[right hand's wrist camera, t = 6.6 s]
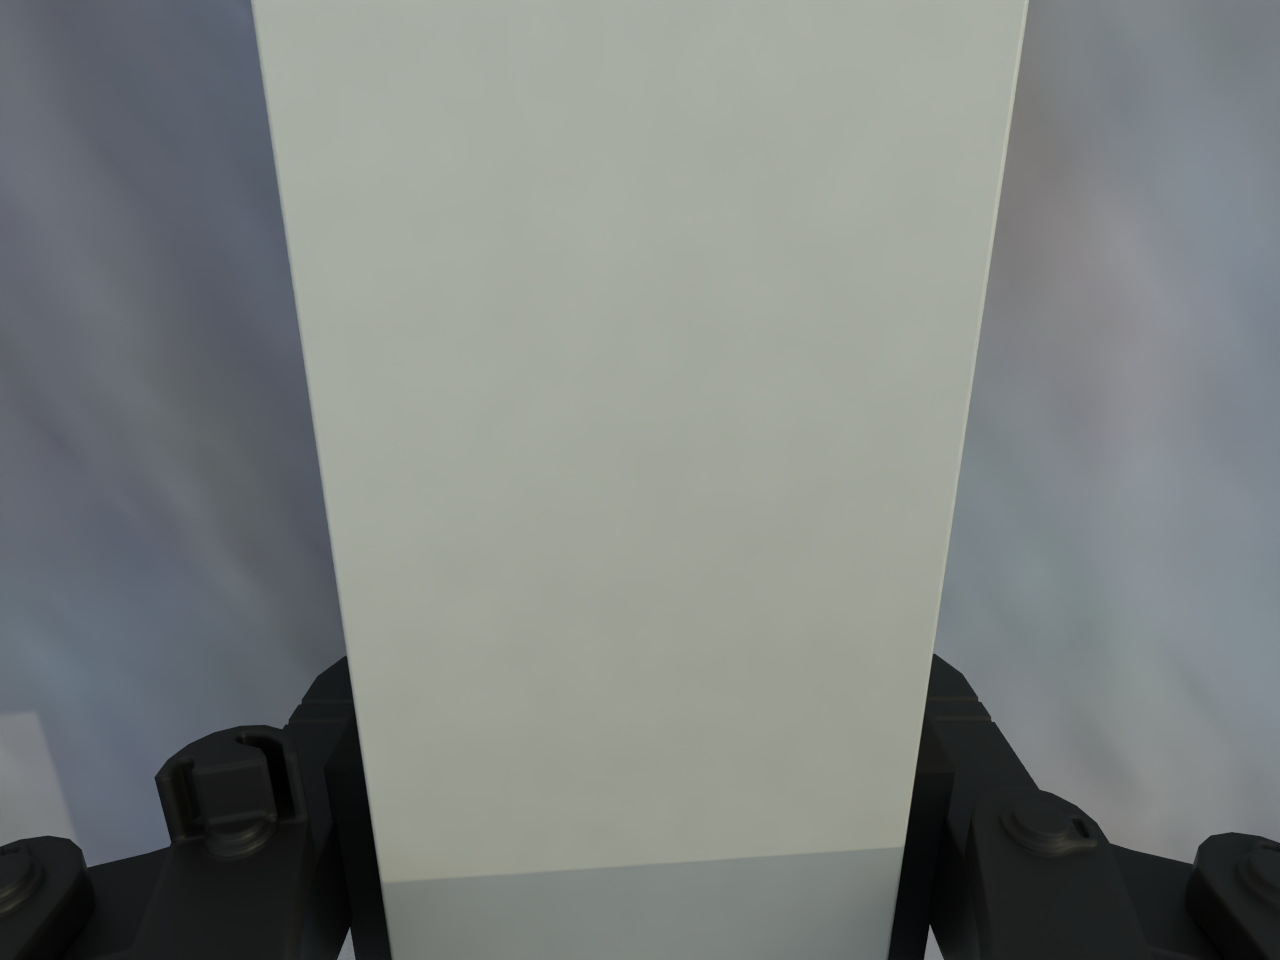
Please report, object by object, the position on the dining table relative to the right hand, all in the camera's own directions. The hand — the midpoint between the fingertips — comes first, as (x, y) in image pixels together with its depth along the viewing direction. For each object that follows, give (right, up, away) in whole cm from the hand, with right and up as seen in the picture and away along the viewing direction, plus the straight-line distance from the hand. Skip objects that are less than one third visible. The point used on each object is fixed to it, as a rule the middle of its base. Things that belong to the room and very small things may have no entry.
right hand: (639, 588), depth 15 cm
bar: (0, +26, -9) cm, 28 cm away
